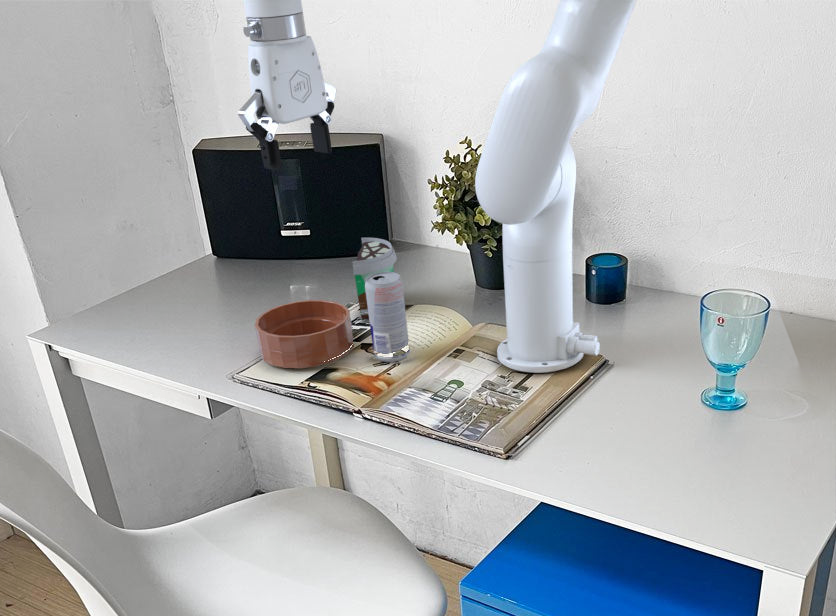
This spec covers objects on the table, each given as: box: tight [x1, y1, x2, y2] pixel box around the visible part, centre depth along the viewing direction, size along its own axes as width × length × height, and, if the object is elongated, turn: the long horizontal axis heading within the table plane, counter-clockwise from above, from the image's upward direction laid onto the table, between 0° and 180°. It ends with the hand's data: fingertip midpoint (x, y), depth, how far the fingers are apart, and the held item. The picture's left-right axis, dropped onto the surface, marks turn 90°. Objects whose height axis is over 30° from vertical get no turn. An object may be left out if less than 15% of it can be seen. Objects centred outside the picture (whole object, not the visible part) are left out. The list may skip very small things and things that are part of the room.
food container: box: [352, 237, 398, 320], centre depth 160 cm, size 12×6×10 cm, turn 179°
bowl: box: [254, 299, 355, 369], centre depth 148 cm, size 14×14×6 cm
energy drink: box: [365, 271, 411, 363], centre depth 143 cm, size 5×5×12 cm
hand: (298, 160), depth 141 cm, fingers open, 9 cm apart
